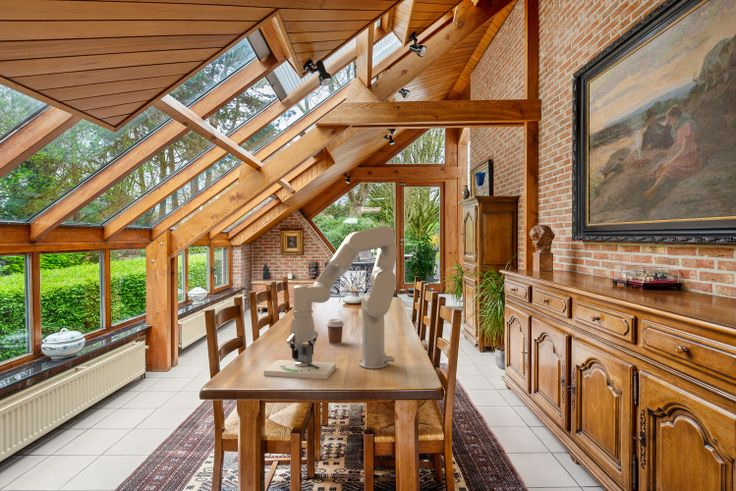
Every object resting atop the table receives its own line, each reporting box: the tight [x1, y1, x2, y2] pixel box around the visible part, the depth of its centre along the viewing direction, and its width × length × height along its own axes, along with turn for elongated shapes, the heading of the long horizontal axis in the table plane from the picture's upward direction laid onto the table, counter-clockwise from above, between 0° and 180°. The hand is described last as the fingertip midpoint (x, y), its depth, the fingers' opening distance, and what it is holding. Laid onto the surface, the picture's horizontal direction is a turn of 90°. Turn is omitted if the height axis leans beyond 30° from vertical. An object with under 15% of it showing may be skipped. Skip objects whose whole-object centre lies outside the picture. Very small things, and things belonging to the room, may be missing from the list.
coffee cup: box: [325, 318, 345, 346], centre depth 209 cm, size 9×9×12 cm
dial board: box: [263, 359, 337, 380], centre depth 166 cm, size 26×14×2 cm, turn 80°
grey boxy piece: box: [293, 342, 319, 368], centre depth 167 cm, size 14×7×8 cm, turn 50°
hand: (302, 356), depth 169 cm, fingers open, 7 cm apart
